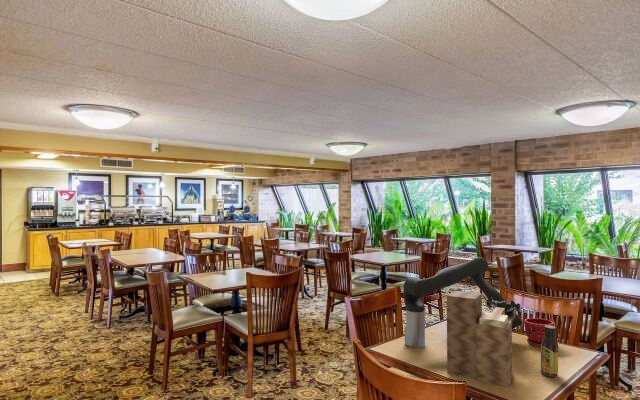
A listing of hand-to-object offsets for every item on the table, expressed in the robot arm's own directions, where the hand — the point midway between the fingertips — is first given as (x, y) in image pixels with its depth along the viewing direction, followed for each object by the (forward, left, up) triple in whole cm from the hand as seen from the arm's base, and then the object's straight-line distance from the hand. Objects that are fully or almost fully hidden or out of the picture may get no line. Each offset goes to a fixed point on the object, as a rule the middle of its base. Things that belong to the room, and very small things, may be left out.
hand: (501, 300), depth 176 cm
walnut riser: (-5, -23, -26) cm, 35 cm away
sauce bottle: (+19, -8, -26) cm, 34 cm away
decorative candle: (-26, +24, -26) cm, 44 cm away
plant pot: (+13, +30, -26) cm, 42 cm away
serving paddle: (+1, -19, -4) cm, 19 cm away
